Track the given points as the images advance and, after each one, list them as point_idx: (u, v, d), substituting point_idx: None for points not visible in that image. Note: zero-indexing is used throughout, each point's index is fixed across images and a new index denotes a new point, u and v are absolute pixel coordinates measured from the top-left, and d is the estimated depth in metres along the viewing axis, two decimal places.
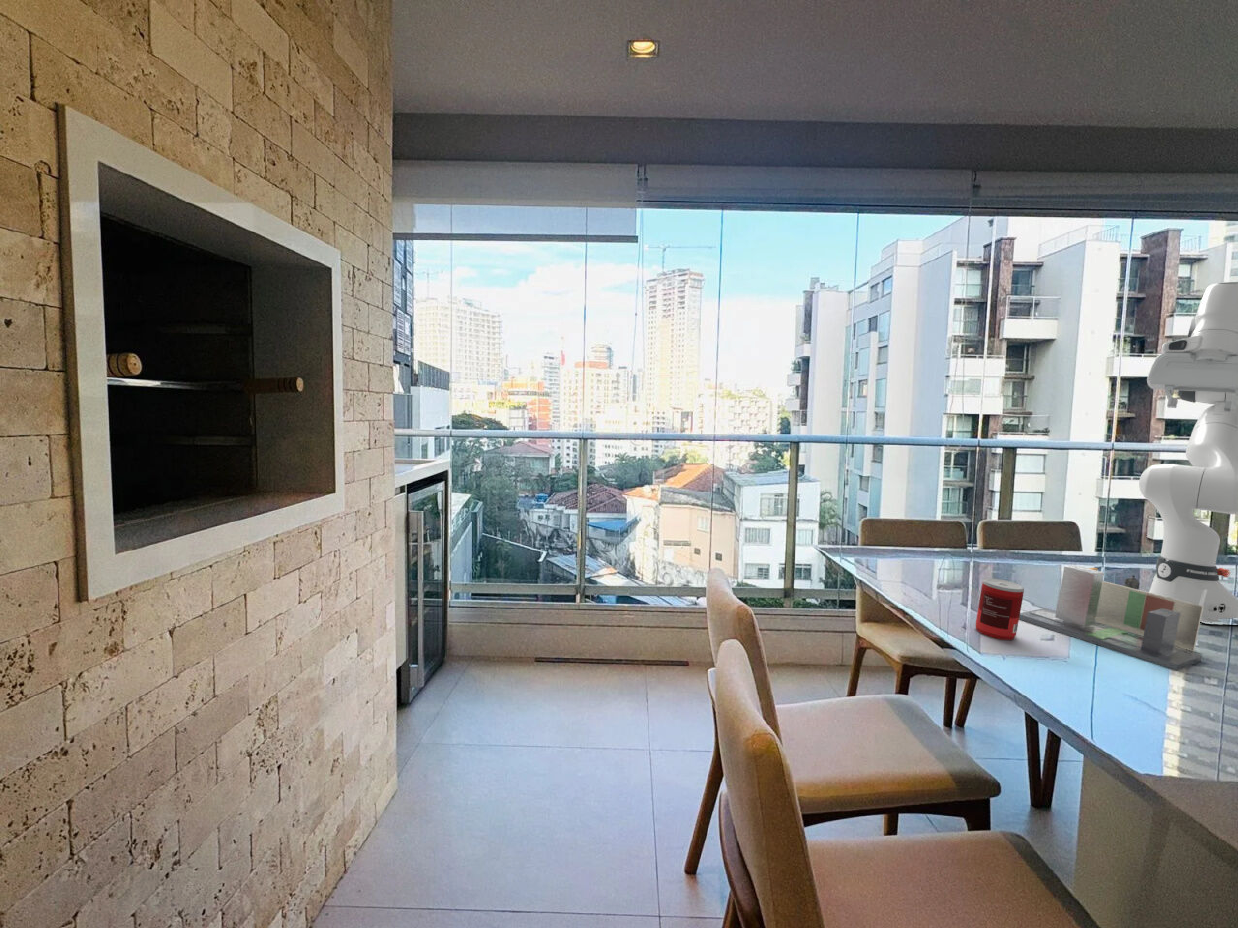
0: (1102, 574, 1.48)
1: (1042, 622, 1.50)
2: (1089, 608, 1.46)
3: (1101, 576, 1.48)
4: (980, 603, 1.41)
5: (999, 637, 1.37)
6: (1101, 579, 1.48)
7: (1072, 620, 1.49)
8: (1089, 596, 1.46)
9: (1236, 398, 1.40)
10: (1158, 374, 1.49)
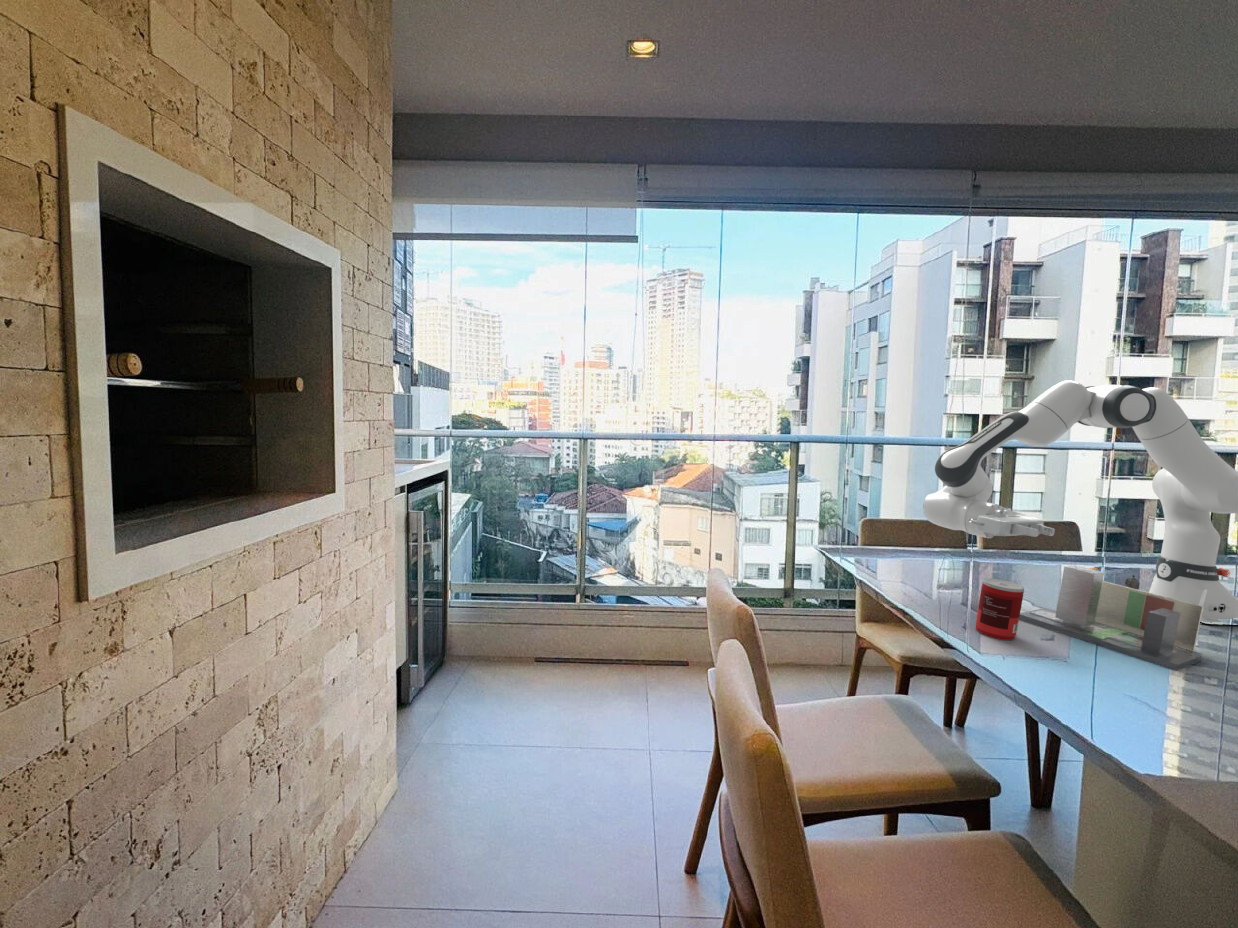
0: (1102, 574, 1.48)
1: (1042, 622, 1.50)
2: (1089, 608, 1.46)
3: (1101, 576, 1.48)
4: (980, 603, 1.41)
5: (999, 637, 1.37)
6: (1101, 579, 1.48)
7: (1072, 620, 1.49)
8: (1089, 596, 1.46)
9: (1023, 534, 1.55)
10: None
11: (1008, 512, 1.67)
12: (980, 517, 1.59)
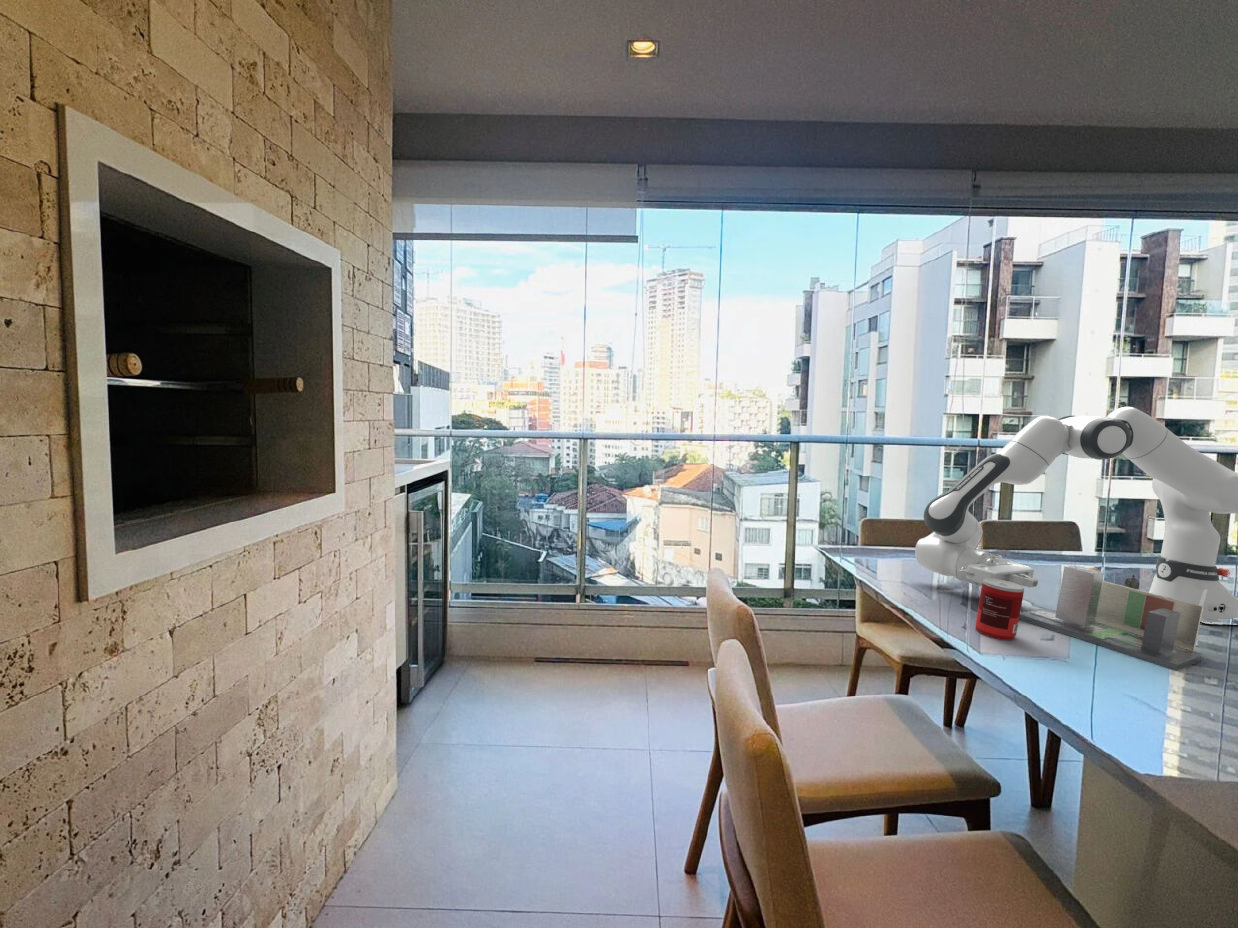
0: (1102, 574, 1.48)
1: (1042, 622, 1.50)
2: (1089, 608, 1.46)
3: (1101, 576, 1.48)
4: (980, 603, 1.41)
5: (999, 637, 1.37)
6: (1101, 579, 1.48)
7: (1072, 620, 1.49)
8: (1089, 596, 1.46)
9: (1019, 584, 1.59)
10: None
11: (999, 560, 1.69)
12: (970, 567, 1.61)
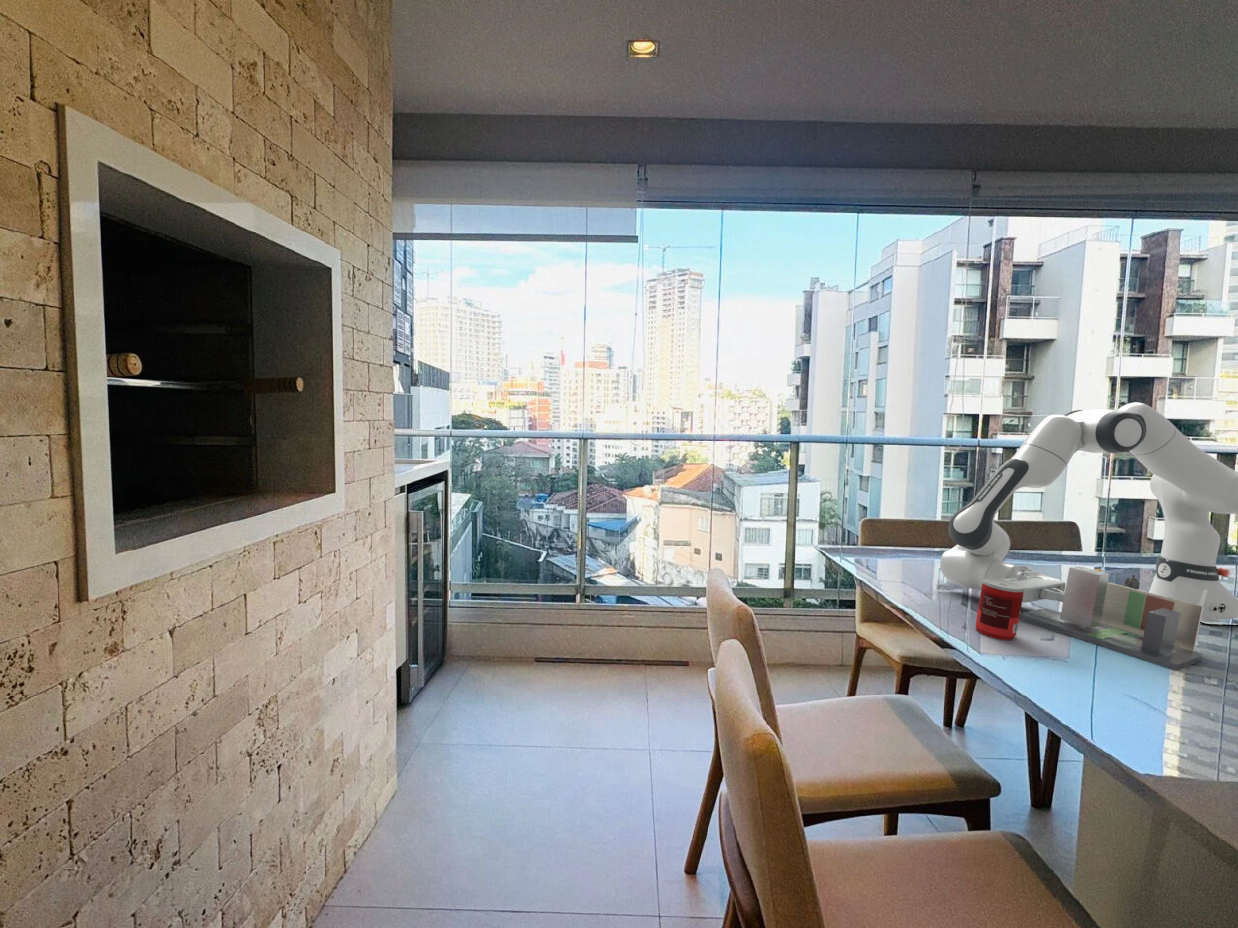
0: (1107, 575, 1.47)
1: (1042, 622, 1.50)
2: (1094, 609, 1.46)
3: (1106, 578, 1.47)
4: (980, 603, 1.41)
5: (999, 637, 1.37)
6: (1106, 581, 1.47)
7: (1077, 622, 1.48)
8: (1094, 597, 1.45)
9: (1052, 599, 1.53)
10: None
11: (1029, 573, 1.63)
12: None
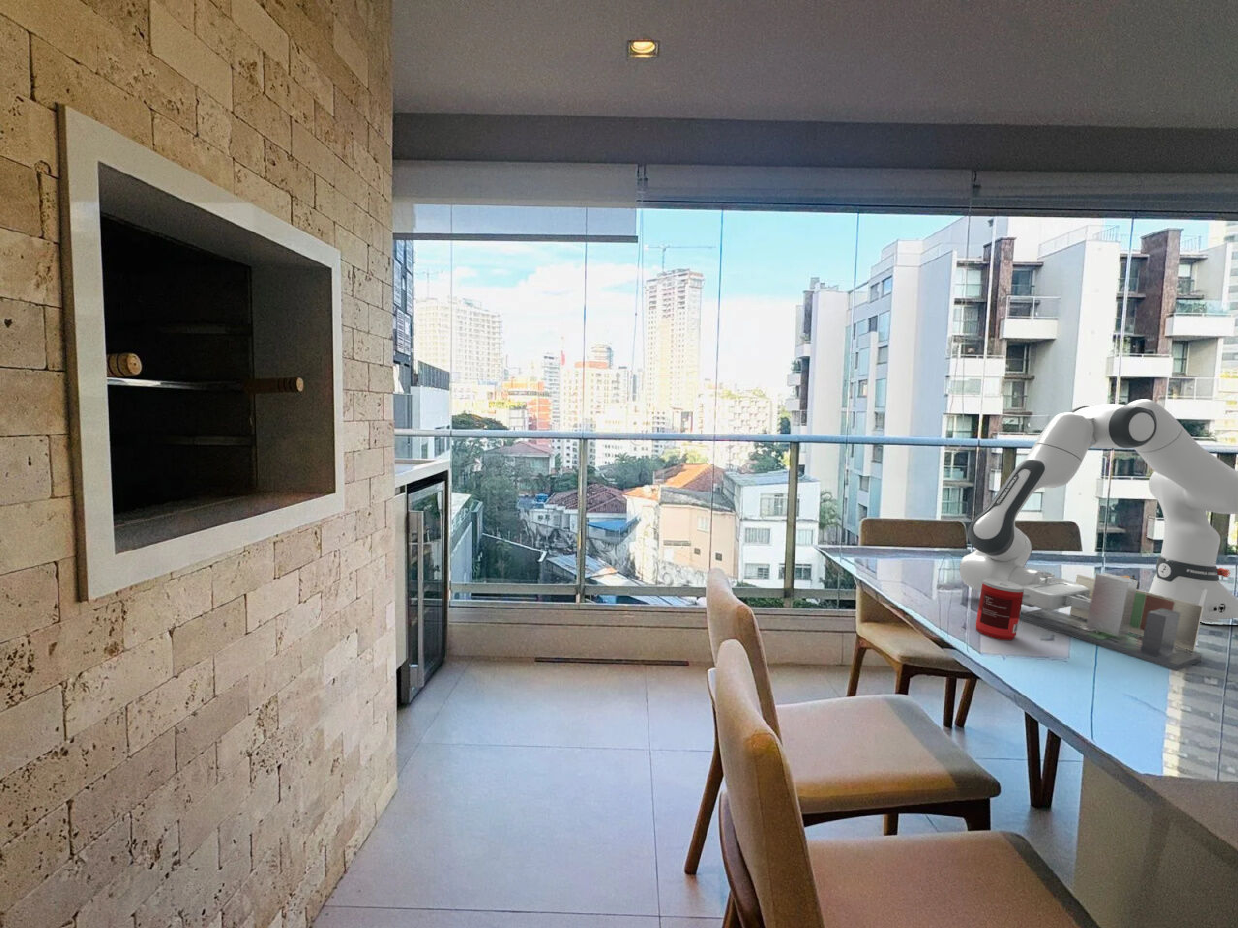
0: (1136, 582, 1.42)
1: (1042, 622, 1.50)
2: (1122, 618, 1.41)
3: (1135, 585, 1.42)
4: (980, 603, 1.41)
5: (999, 637, 1.37)
6: (1135, 588, 1.43)
7: (1104, 630, 1.43)
8: (1123, 605, 1.41)
9: None
10: None
11: (1052, 579, 1.58)
12: (1024, 588, 1.51)
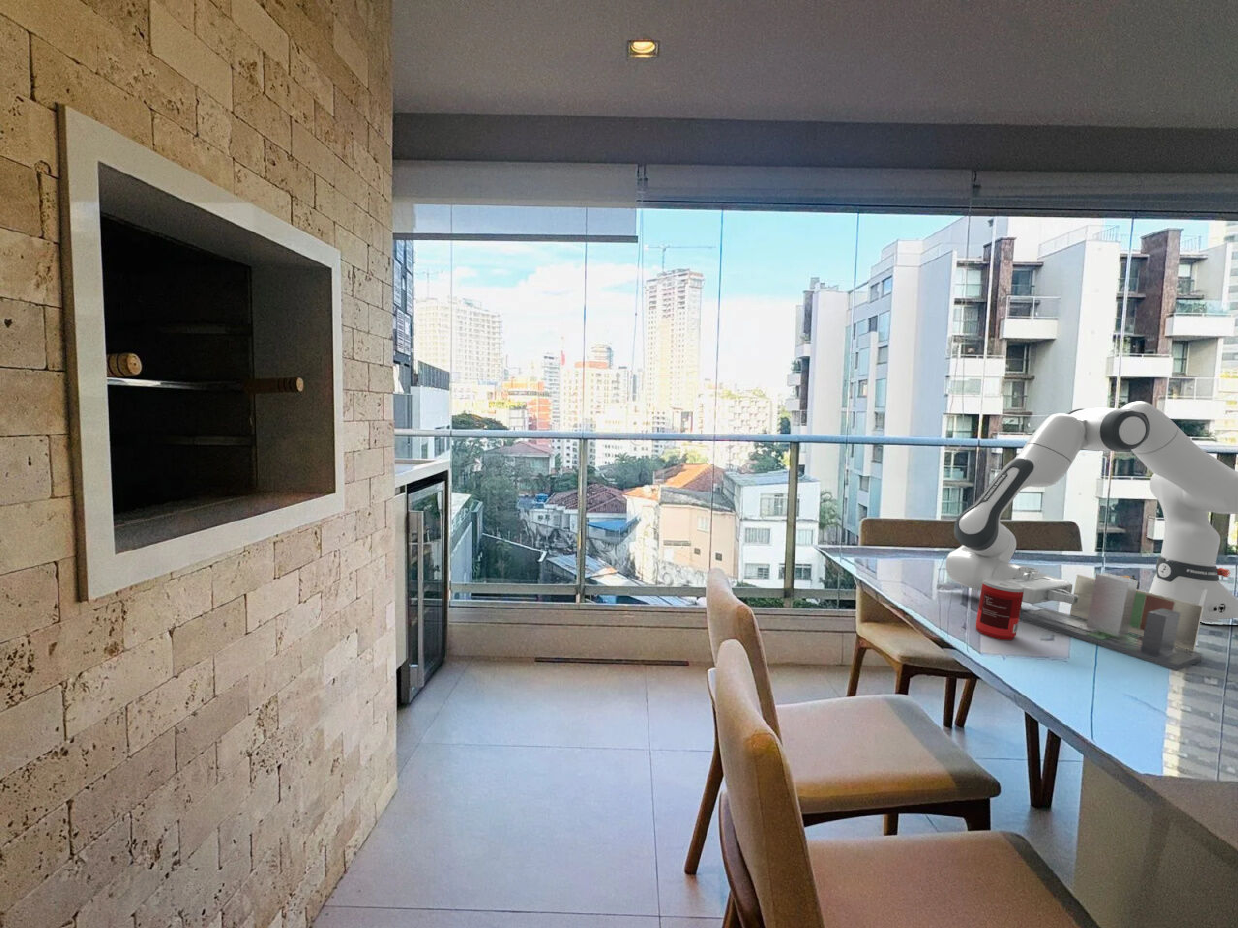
0: (1136, 582, 1.42)
1: (1042, 622, 1.50)
2: (1122, 618, 1.41)
3: (1135, 585, 1.42)
4: (980, 603, 1.41)
5: (999, 637, 1.37)
6: (1135, 588, 1.43)
7: (1105, 630, 1.43)
8: (1123, 605, 1.41)
9: None
10: None
11: (1036, 574, 1.61)
12: None
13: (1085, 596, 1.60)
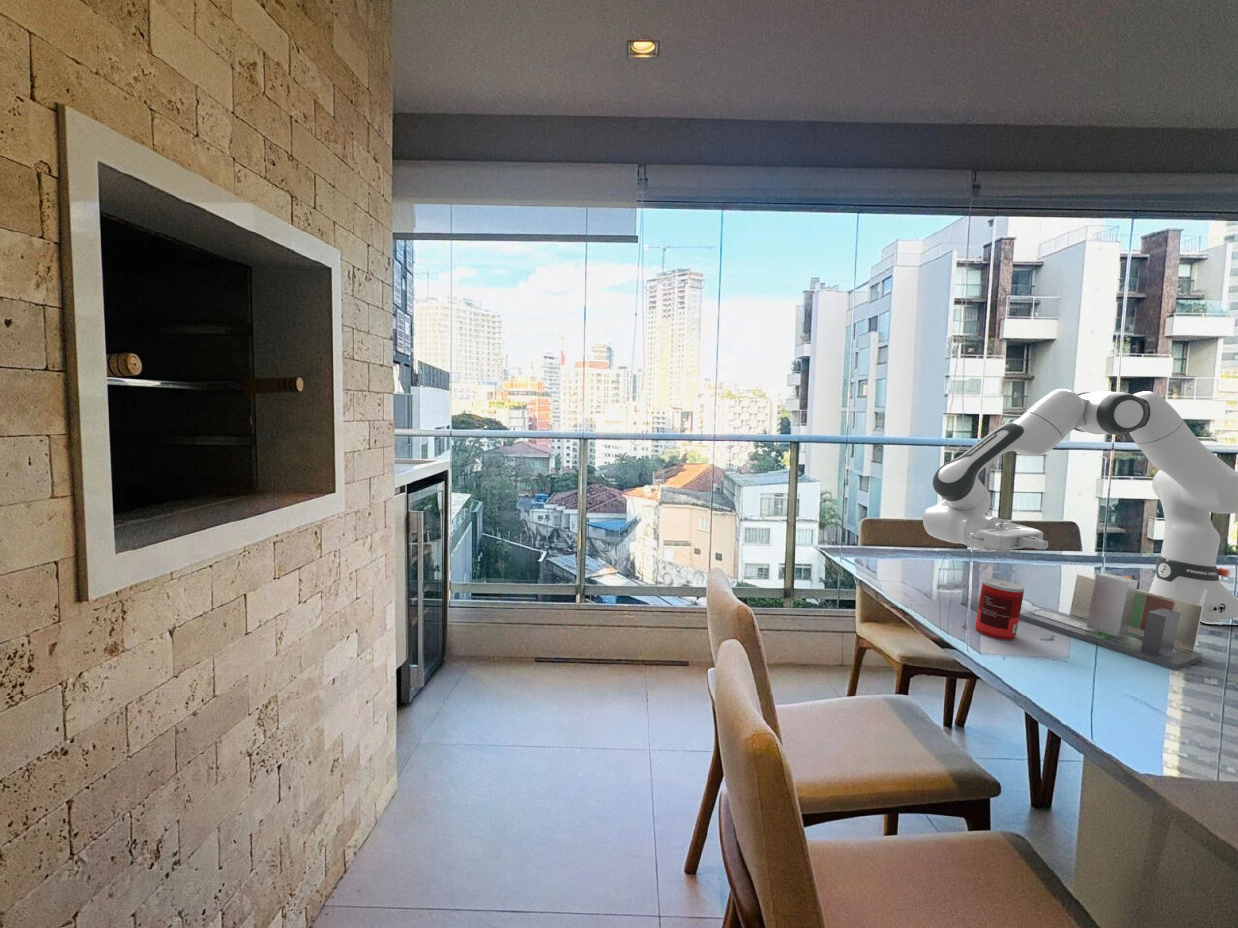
0: (1136, 582, 1.42)
1: (1042, 622, 1.50)
2: (1122, 618, 1.41)
3: (1135, 585, 1.42)
4: (980, 603, 1.41)
5: (999, 637, 1.37)
6: (1135, 588, 1.43)
7: (1105, 630, 1.43)
8: (1123, 605, 1.41)
9: (1030, 547, 1.58)
10: None
11: (1008, 524, 1.67)
12: (979, 532, 1.60)
13: (1085, 596, 1.60)
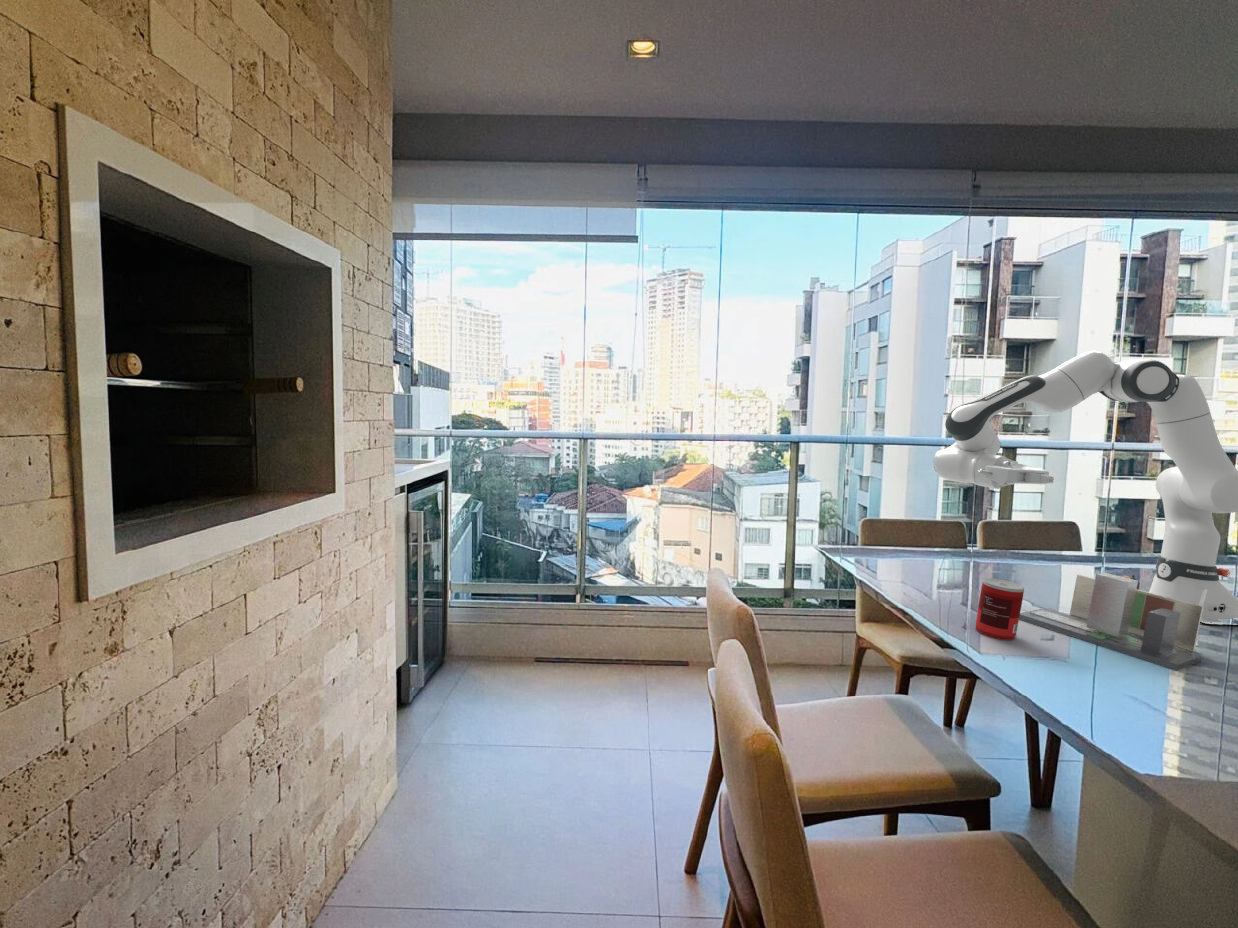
0: (1136, 582, 1.42)
1: (1042, 622, 1.50)
2: (1122, 618, 1.41)
3: (1135, 585, 1.42)
4: (980, 603, 1.41)
5: (999, 637, 1.37)
6: (1135, 588, 1.43)
7: (1105, 630, 1.43)
8: (1123, 605, 1.41)
9: (1036, 482, 1.65)
10: None
11: (1015, 464, 1.75)
12: (988, 467, 1.68)
13: (1085, 596, 1.60)
